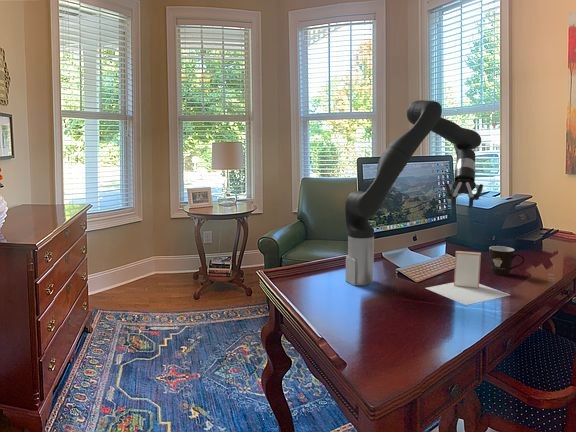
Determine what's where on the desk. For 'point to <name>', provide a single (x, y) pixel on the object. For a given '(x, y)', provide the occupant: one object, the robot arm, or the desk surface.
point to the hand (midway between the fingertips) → (462, 206)
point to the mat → (467, 293)
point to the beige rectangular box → (467, 269)
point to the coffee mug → (502, 260)
